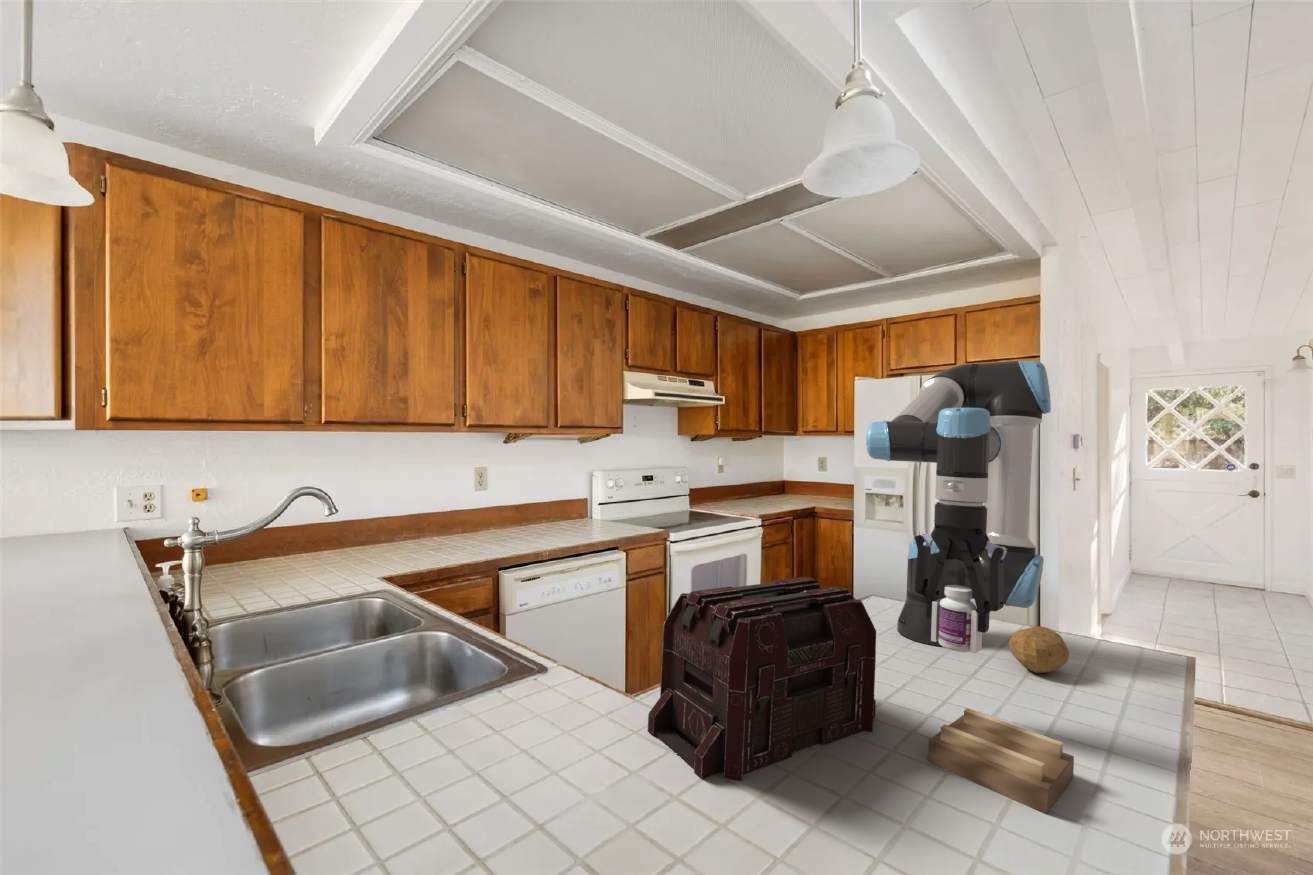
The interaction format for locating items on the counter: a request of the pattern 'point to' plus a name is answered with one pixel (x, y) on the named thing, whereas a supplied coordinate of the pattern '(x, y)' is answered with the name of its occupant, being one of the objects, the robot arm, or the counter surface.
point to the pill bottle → (956, 618)
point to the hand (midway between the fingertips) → (955, 644)
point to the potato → (1039, 649)
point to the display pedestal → (1004, 759)
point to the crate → (763, 674)
